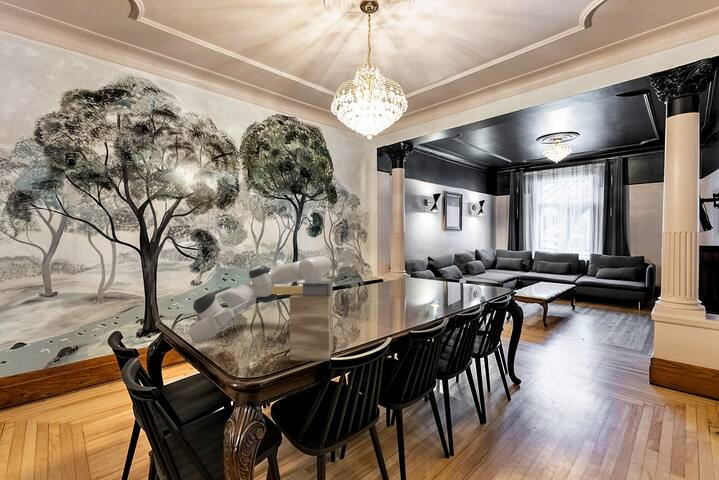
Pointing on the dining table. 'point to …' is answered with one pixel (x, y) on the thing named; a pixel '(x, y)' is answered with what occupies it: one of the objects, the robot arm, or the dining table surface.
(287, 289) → the bar
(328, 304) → the pedestal
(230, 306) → the robot arm
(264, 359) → the dining table surface
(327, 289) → the socket
